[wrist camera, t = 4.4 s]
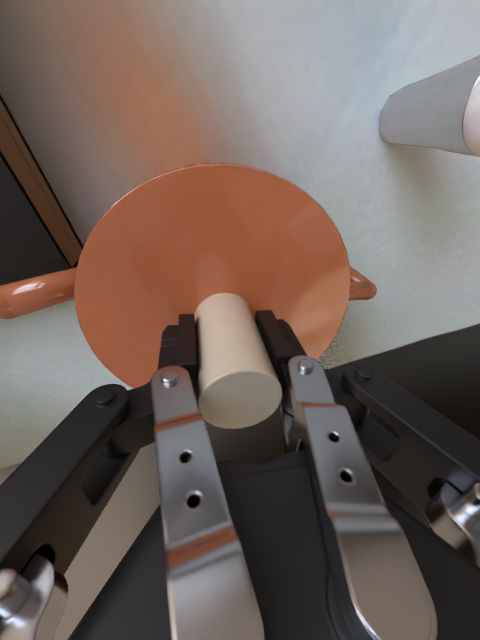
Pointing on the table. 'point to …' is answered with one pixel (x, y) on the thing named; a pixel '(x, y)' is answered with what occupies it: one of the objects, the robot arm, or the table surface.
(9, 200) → the file folder
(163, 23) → the table surface
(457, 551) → the robot arm
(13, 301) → the teapot spout handle
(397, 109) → the milkshake
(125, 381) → the teapot lid
